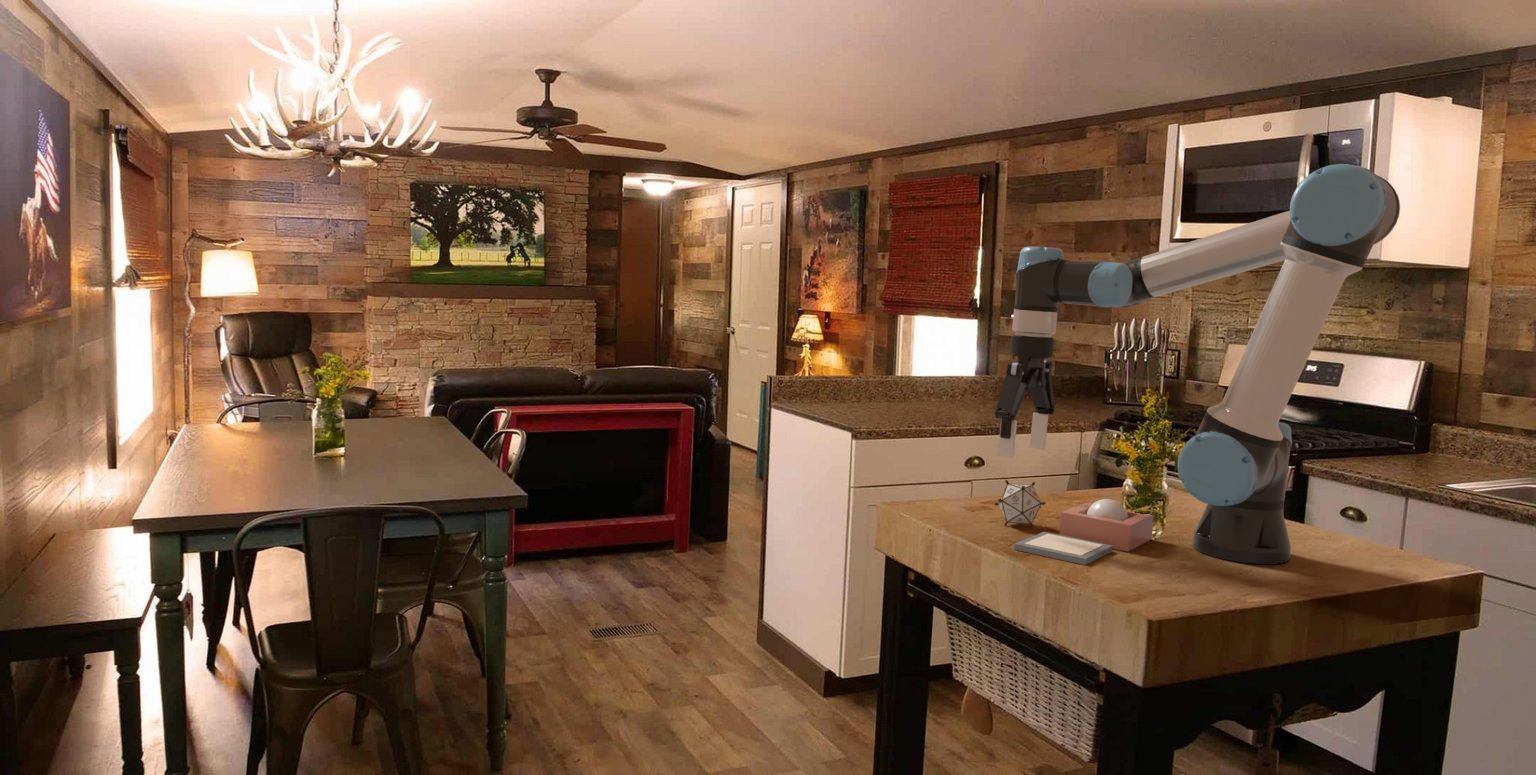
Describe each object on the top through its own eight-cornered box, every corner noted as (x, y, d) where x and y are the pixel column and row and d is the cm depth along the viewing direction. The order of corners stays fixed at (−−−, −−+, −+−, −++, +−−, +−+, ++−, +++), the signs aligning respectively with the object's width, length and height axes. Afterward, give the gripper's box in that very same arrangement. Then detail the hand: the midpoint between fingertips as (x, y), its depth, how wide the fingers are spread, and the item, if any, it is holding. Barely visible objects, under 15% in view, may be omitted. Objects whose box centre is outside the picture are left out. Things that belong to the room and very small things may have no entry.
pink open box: (1151, 539, 184) (1153, 514, 184) (1128, 551, 175) (1130, 525, 174) (1084, 526, 191) (1086, 502, 191) (1059, 537, 182) (1061, 512, 181)
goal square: (1112, 551, 174) (1112, 545, 174) (1085, 565, 165) (1085, 558, 165) (1043, 537, 181) (1044, 531, 181) (1014, 549, 172) (1014, 543, 172)
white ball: (1132, 539, 184) (1135, 500, 183) (1118, 546, 178) (1122, 505, 177) (1093, 531, 188) (1096, 493, 187) (1078, 538, 182) (1081, 498, 181)
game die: (1021, 543, 191) (1051, 499, 193) (1029, 538, 183) (1060, 492, 185) (980, 514, 193) (1010, 471, 195) (986, 508, 185) (1017, 462, 187)
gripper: (1041, 331, 198) (1030, 442, 200) (982, 333, 178) (971, 456, 181) (1080, 335, 193) (1068, 448, 196) (1023, 338, 174) (1011, 463, 176)
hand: (1021, 452), depth 188 cm, fingers open, 13 cm apart
